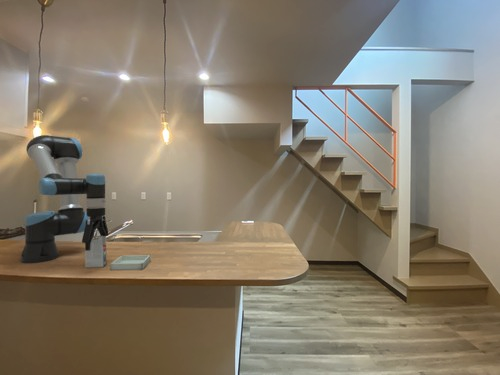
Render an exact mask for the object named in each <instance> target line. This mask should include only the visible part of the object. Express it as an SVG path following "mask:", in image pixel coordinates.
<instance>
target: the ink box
mask: <svg viewBox="0 0 500 375" xmlns="http://www.w3.org/2000/svg"><path fill="white" fill-rule="evenodd" d="M94 238H95V239H94ZM91 242H92V246H93V257H92V258H85V264H84V266H85V268H86V269H87V268H89V269H90V268H91V269H92V268H104V267H106V265H107V244H106V245H103V236H101V235H93V238H92V241H91Z"/></svg>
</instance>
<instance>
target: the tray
mask: <svg viewBox="0 0 500 375" xmlns="http://www.w3.org/2000/svg"><path fill="white" fill-rule="evenodd" d="M150 262H151V254H150V255H149V254H147V255H139V254H138V255H133V254H132V255H120V256H118V258H116V259H115V260H113V261H112V262H111V263H110V264H109V270H110V271H130V270H131V271H134V270H135V271H136V270H138V271H140V270H141V271H143V269H144V268H146V266H147V265H149V263H150Z"/></svg>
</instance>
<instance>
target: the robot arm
mask: <svg viewBox="0 0 500 375" xmlns="http://www.w3.org/2000/svg"><path fill="white" fill-rule="evenodd" d="M26 153H27V155H28V157H29V158H30V159H31V160H33V163H34V165H35V167H36V170H37V172H38V173H39V176H40V179H39V181H38V189H39V193H40V194H41V195H43V196H59V199H60V207H59V208H58V209H57V213H56V212H55V211H54V210H45V211H38V212H33V213H29V214H28V215H26V216H25V222H24V230H25V231H24V232H25V233H24V237H25V242H24V244H25V245H24V248H23V250H22V253H21V255H20V262H21V263H29V264H32V263H41V262H47V261H51V260H55V259H57V258H59V257H60V251H59V249H58V247H57V244H56V242H55V241H56V240H55V239H56V238H55V237H57V236H64V235H72V234H80V233H83V235H82V237H81V238H82V239H81V243H82V244H84V254H85V256H84V257H85V258H92V257H93V246H92V242H91V241H92V239H94V238H93V236H95V232H96V230H97V231H98V232H99V236H103V245H106V246H107V236H109V230H108V225H107V221H106V220H107V219H106V208H105V207H106V202H107V201H106V176H105V174H103V173H102V174H100V173H99V174H98V173H95V174H94V173H87V175H86V176H85V177H84V178H78V172H77V164H78V163H79V162H80V160H81V158H82V157H83V148H82V144H81V142H80V141H79V140H78V139H76V138H72V137H64V136H55V135H48V134H46V135H45V134H41V135H38V136H35V137H33V138H32V139H30V141H29V142H28V143H27V145H26ZM80 195H85V197H86V199H85V200H86V203H85V204H86V210H84V207H83V206H81V203H80Z"/></svg>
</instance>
